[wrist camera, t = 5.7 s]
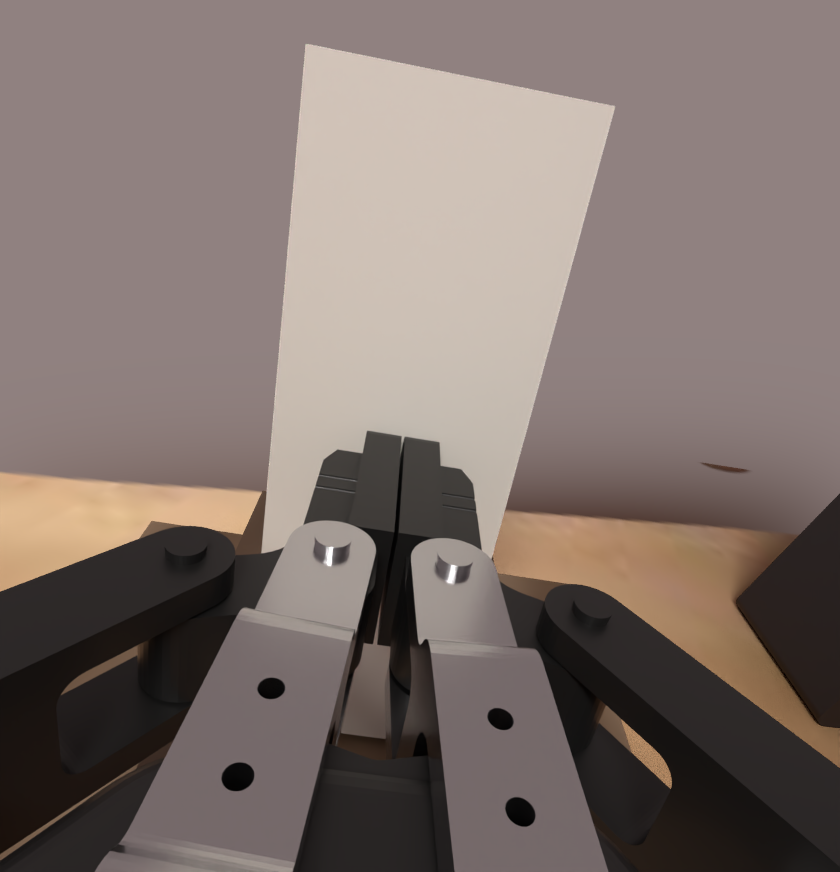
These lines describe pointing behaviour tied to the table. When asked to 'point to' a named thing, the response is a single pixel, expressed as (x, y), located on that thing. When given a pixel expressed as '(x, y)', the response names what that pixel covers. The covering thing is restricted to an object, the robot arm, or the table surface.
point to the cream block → (421, 281)
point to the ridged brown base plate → (352, 743)
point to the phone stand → (804, 613)
